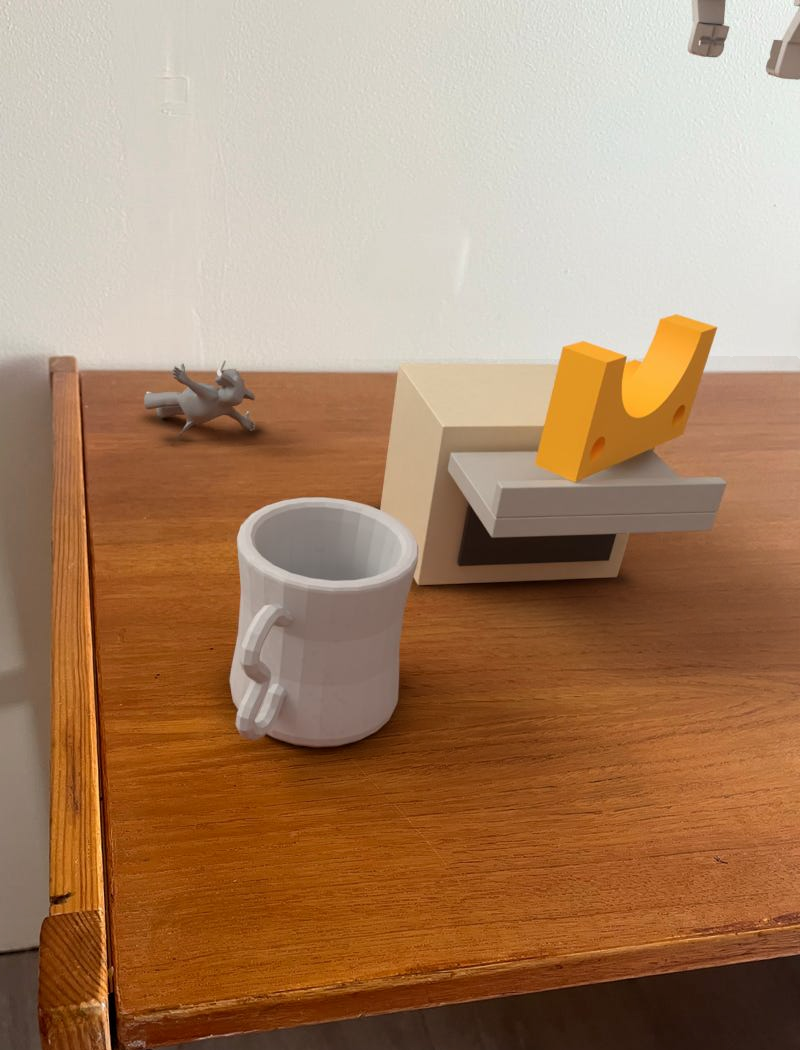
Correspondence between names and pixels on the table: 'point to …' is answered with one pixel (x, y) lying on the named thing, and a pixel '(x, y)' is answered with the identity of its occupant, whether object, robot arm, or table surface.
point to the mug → (320, 620)
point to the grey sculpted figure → (203, 399)
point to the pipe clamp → (622, 399)
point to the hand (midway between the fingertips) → (741, 66)
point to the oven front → (516, 483)
